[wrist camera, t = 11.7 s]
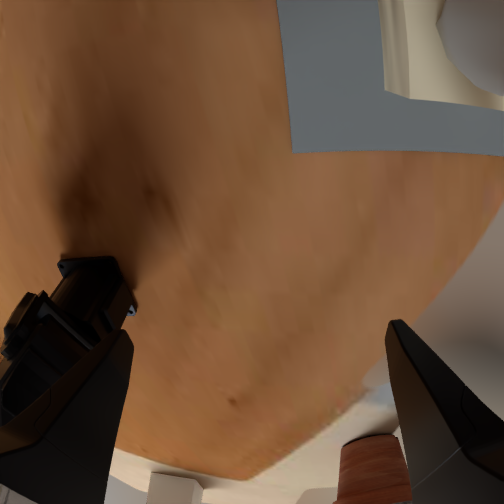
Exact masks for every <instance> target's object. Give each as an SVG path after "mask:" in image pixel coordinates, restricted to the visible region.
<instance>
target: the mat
mask: <svg viewBox="0 0 504 504" xmlns="http://www.w3.org/2000/svg"><path fill="white" fill-rule="evenodd" d="M276 1H277V8H278V16H279V23H280V31H281V39H282V48H283V57H284V66H285V75H286V85H287V95H288V106H289V117H290V128H291V140H292V152H293V153H308V152H330V151H375V150H391V151H435V152H455V153H471V154H484V155H495V156H504V111H501V110H495V109H490V108H484V107H478V106H471V105H464V104H457V103H448V102H440V101H429V100H418V99H409V98H406V97H403V96H400V95H398V94H395V93H392V92H389V91H386V90H385V87H384V64H383V49H382V36H381V26H380V16H379V8H378V0H276Z"/></svg>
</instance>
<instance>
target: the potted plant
mask: <svg viewBox="0 0 504 504" xmlns="http://www.w3.org/2000/svg"><path fill="white" fill-rule="evenodd" d="M411 490H412V489H411V485H410V478H409V472H408V468H407V465H406V462H405V459H404V455H403V452H402V449H401V446H400V443H399V440H398V437H395V436H394V435H379V436H372V437H368V438H364V439H360V440H358V441H355V442H352V443H350V444H348V445H346V446H345V447H343V448H342V449H341V457H340V471H339V482H338V494H337V501H335V502H333V504H413V500H412V492H411Z"/></svg>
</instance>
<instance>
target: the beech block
mask: <svg viewBox="0 0 504 504" xmlns="http://www.w3.org/2000/svg"><path fill="white" fill-rule="evenodd" d="M444 2H445V0H378V8H379V16H380V26H381V36H382V49H383V64H384V87H385V90H386V91H389V92H392V93H395V94H398V95H400V96H403V97H406V98H409V99H418V100H429V101H440V102H448V103H457V104H464V105H471V106H478V107H484V108H490V109H495V110H501V111H504V96H499V95H496V94H494V93H491V92H488V91H486V90H483V89H480V88H479V87H477V86H475V85H474V84H473V83H472V82H471V81H470V80H469V79H468V78H467V77H466V76H465V75H464V74H463V73H462V72H461V71H459V70H458V69H457V68H456V67H455V65H454V64H453V63H452V62H451V61H450V60H449V59H448V58H447V56H446V53H445V50H444V47H443V44H442V41H441V38H440V36H439V33H438V30H437V28H436V24H437V22H438V20H439V19H440V17H441V14H442V10H443V6H444Z"/></svg>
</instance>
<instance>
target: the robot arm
mask: <svg viewBox="0 0 504 504" xmlns="http://www.w3.org/2000/svg"><path fill="white" fill-rule="evenodd" d="M110 262H111V263H110ZM57 266H58V268H59V270H60V272H61V274H62V276H63V279H62V280H61V282H60V283H59V284H58V286H57V287H56V289H55V290H54V291H53V293H52V294H51V296H50V297H48V294H47V293H46V292H45V291H44V290H43V291H41V292H40V293H39V294H38V295H36V294H33V293H30V292H27V293H26V294H25V295H24V297H23V298H22V299H21V301H20V302H19V304H18V305H17V306H16V308H15V309H14V311H13V313H12V314H11V316H10V318H9V320H8V322H7V323H6V325H5V327H4V336H5V337H4V340H3V344H2V347H1V350H0V353H1V354H2V355H3V356H4V358H3V360H2V362H1V363H0V504H104V500H105V494H106V488H107V481H108V476H109V471H110V466H111V461H112V456H113V451H114V446H115V441H116V437H117V432H118V428H119V423H120V419H121V415H122V411H123V406H124V402H125V398H126V394H127V390H128V386H129V380H130V373H131V366H132V359H133V353H134V345H133V343H132V341H131V339H130V337H129V335H128V333H127V332H126V330H124V329H121V327H122V324H123V322H124V320H125V318H126V316H134V315H135V314H136V312H137V309H136V307H135V305H134V302H133V299H132V297H131V295H130V292H129V290H128V288H127V285H126V283H125V281H124V279H123V277H122V274H121V272H120V269H119V267H118V264H117V262H116V260H115V259H114V258H113V257H111V256H104V257H89V258H75V259H61V260H60V261H59V262H58V263H57ZM385 346H386V353H387V360H388V368H389V376H390V383H391V388H392V392H393V397H394V401H395V405H396V410H397V414H398V419H399V424H400V428H401V433H402V439H403V444H404V449H405V454H406V460H407V466H408V472H409V478H410V485H411V489H412V490H411V492H412V500H413V504H504V421H503V420H501V418H499V417H498V416H497V415H496V414H495V413H494V412H492V411H491V410H490V409H489V408H488V407H487V406H486V405H485V404H484V403H483V402H482V401H481V400H480V399H478V397H477V396H476V395H475V394H474V393H473V392H472V391H471V390H470V389H469V388H468V387H467V386H465V384H464V383H463V382H462V380H461V379H460V378H459V377H458V376H457V375H456V374H455V373H454V372H453V371H452V370H451V369H450V368H449V367H448V366H447V365H446V364H445V363H444V361H443V360H442V359H441V358H440V357H439V356H438V355H437V354H436V353H435V352H434V351H433V350H432V349H431V348H430V347H429V346H428V345H427V344H426V343H425V342H424V341H423V340H422V339H421V338H420V337H419V336H418V335H417V334H416V333H415V332H414V331H413V330H412V329H411V328H410V327H409V326H408V325H407V324H406V323H405V322H404V321H403V320H401V319H397V320H391V321H390V322H389V324H388V328H387V332H386V336H385Z"/></svg>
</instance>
